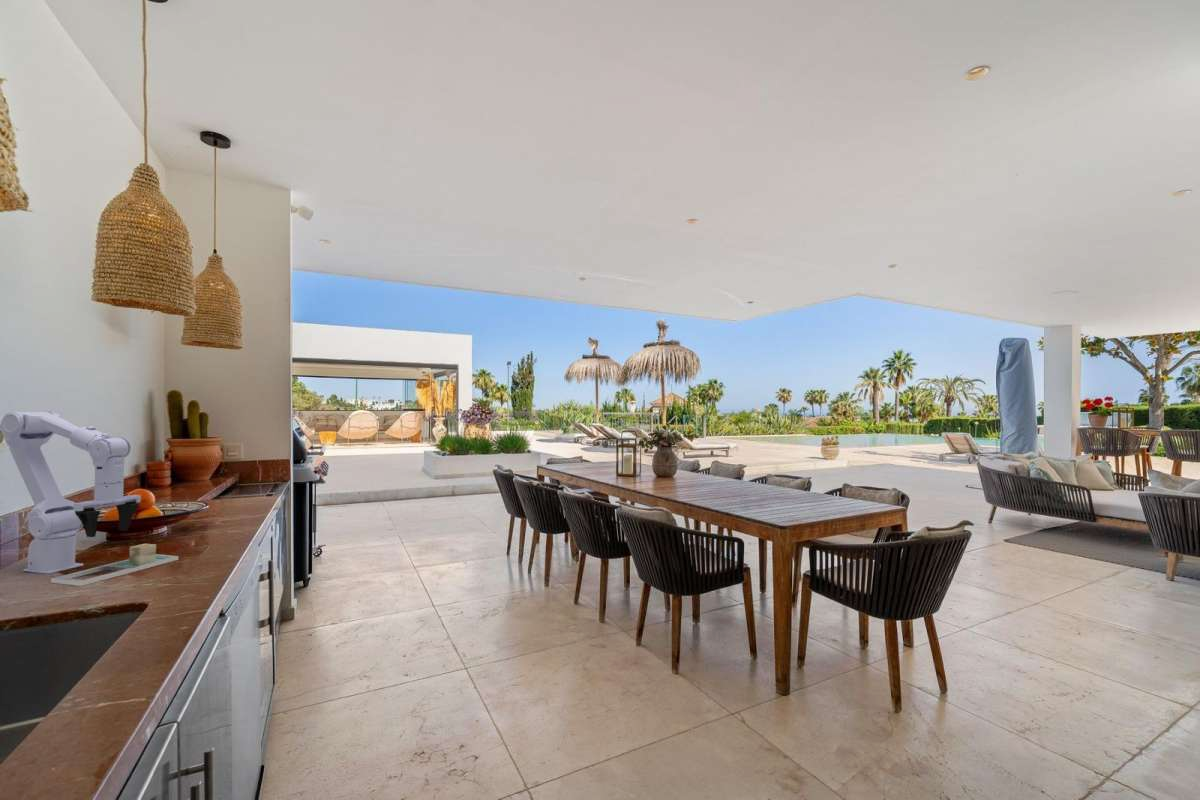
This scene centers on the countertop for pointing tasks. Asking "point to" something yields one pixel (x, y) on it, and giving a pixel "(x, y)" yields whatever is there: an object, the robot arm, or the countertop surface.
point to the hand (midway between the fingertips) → (107, 533)
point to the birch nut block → (142, 554)
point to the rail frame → (119, 567)
